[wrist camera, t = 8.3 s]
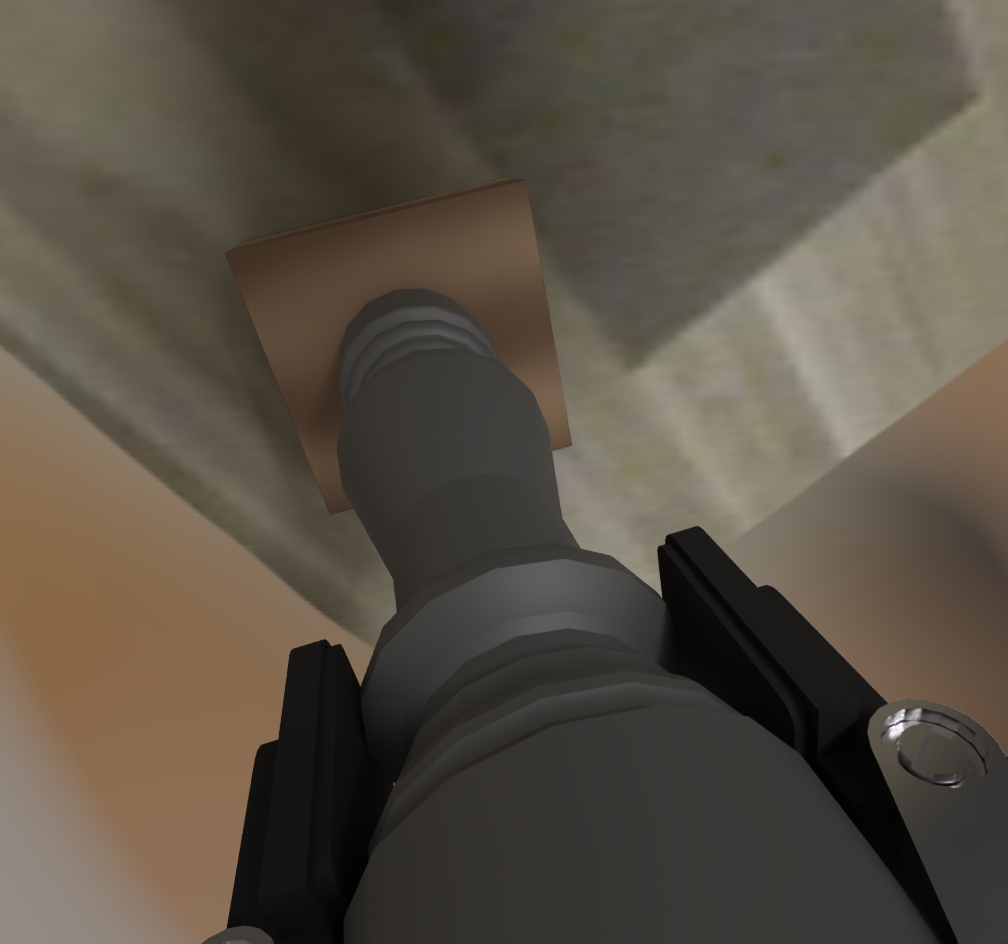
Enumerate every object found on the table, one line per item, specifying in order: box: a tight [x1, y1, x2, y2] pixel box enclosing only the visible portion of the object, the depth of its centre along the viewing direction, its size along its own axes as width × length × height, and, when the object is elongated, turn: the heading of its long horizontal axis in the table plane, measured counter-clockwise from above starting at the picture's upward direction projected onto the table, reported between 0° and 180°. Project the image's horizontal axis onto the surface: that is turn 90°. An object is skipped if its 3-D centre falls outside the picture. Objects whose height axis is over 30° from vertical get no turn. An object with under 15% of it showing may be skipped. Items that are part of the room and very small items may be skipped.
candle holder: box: [337, 288, 946, 944], centre depth 16 cm, size 6×6×25 cm
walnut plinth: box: [225, 178, 572, 515], centre depth 29 cm, size 12×12×4 cm
